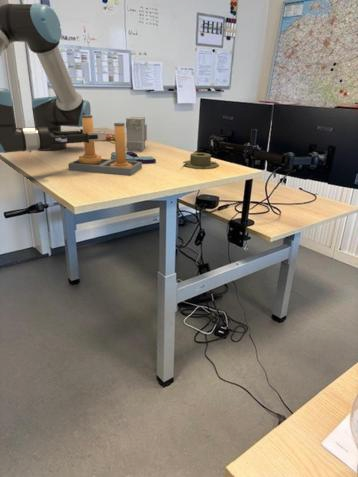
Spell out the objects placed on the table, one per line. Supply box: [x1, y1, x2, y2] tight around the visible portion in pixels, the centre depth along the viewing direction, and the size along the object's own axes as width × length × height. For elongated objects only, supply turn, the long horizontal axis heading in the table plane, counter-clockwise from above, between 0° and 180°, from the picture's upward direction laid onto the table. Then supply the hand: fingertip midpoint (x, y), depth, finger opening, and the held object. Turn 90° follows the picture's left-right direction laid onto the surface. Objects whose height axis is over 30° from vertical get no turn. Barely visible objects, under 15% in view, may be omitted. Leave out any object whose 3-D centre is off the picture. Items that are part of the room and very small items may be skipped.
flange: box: [182, 152, 219, 170], centre depth 148 cm, size 5×15×15 cm
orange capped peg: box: [110, 122, 132, 168], centre depth 128 cm, size 8×8×17 cm
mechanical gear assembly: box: [96, 133, 115, 145], centre depth 196 cm, size 30×4×15 cm
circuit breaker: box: [125, 116, 148, 153], centre depth 174 cm, size 8×14×15 cm, turn 174°
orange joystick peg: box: [78, 114, 102, 165], centre depth 129 cm, size 8×8×17 cm
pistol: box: [110, 151, 157, 165], centre depth 147 cm, size 4×16×15 cm
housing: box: [67, 158, 143, 176], centre depth 132 cm, size 24×12×4 cm, turn 77°
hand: (103, 135), depth 132 cm, fingers closed on orange joystick peg, 4 cm apart
